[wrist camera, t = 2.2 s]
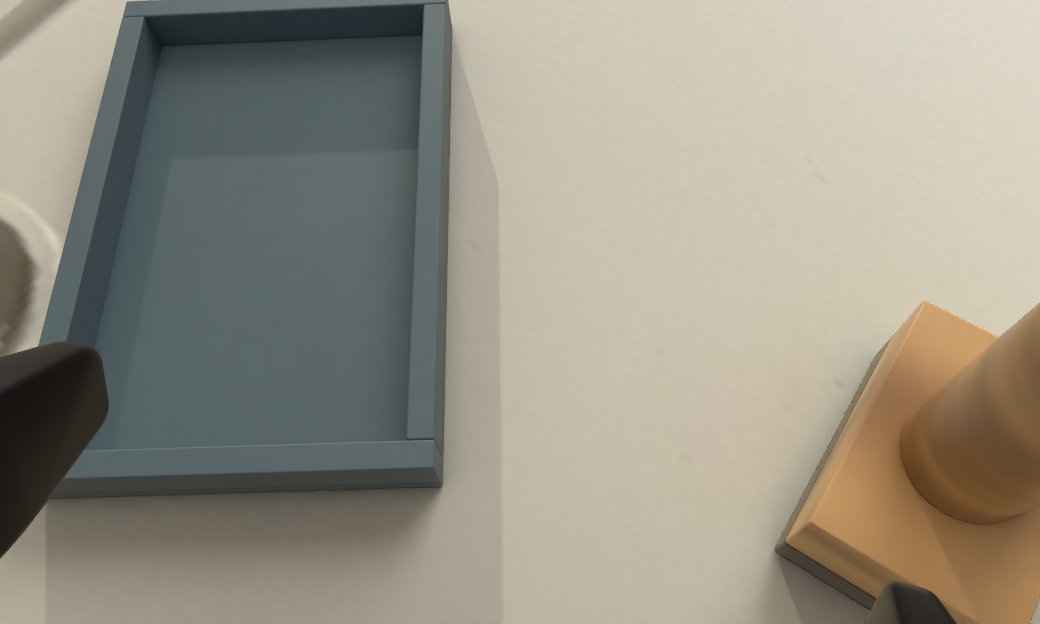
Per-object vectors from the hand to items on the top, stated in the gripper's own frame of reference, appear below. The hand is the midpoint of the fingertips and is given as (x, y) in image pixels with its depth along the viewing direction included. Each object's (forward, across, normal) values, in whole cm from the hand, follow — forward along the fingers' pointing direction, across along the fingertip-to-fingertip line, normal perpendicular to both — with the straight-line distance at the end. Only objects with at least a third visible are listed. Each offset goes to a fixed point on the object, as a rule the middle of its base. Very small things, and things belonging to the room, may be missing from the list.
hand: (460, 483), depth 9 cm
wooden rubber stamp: (+13, -10, +9) cm, 19 cm away
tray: (+16, +11, +7) cm, 21 cm away
